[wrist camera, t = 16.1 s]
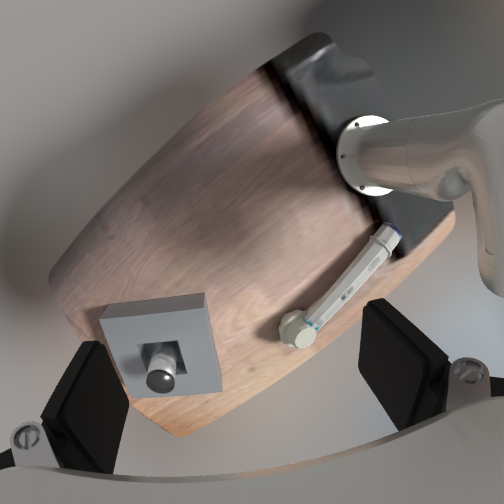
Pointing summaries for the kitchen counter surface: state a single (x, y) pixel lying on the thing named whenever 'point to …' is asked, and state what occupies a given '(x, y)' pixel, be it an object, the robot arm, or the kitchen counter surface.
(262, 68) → the kitchen counter surface
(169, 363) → the cylinder
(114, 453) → the robot arm
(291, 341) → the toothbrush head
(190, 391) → the socket block
